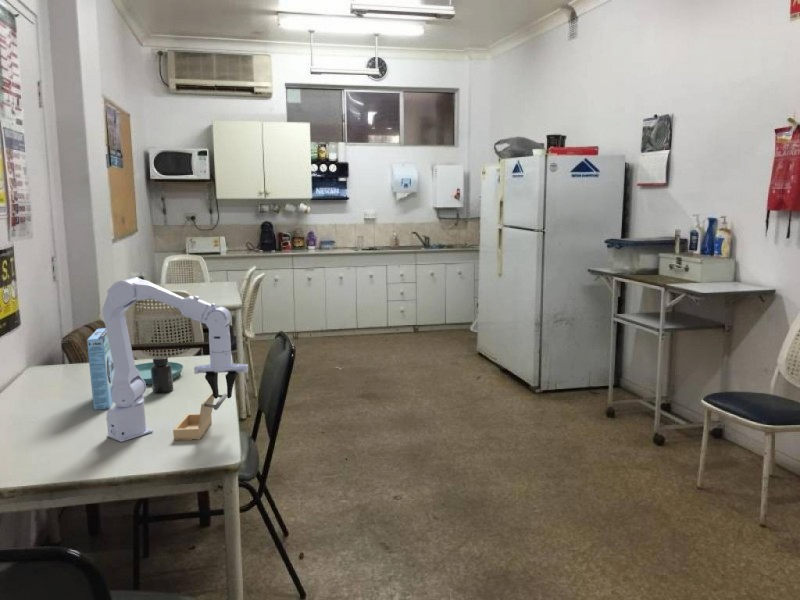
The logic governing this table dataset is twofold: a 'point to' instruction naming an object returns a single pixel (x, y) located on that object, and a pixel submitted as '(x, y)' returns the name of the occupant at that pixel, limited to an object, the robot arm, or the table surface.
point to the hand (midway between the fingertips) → (223, 397)
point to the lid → (209, 407)
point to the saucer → (146, 370)
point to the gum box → (100, 369)
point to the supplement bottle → (161, 375)
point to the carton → (190, 428)
